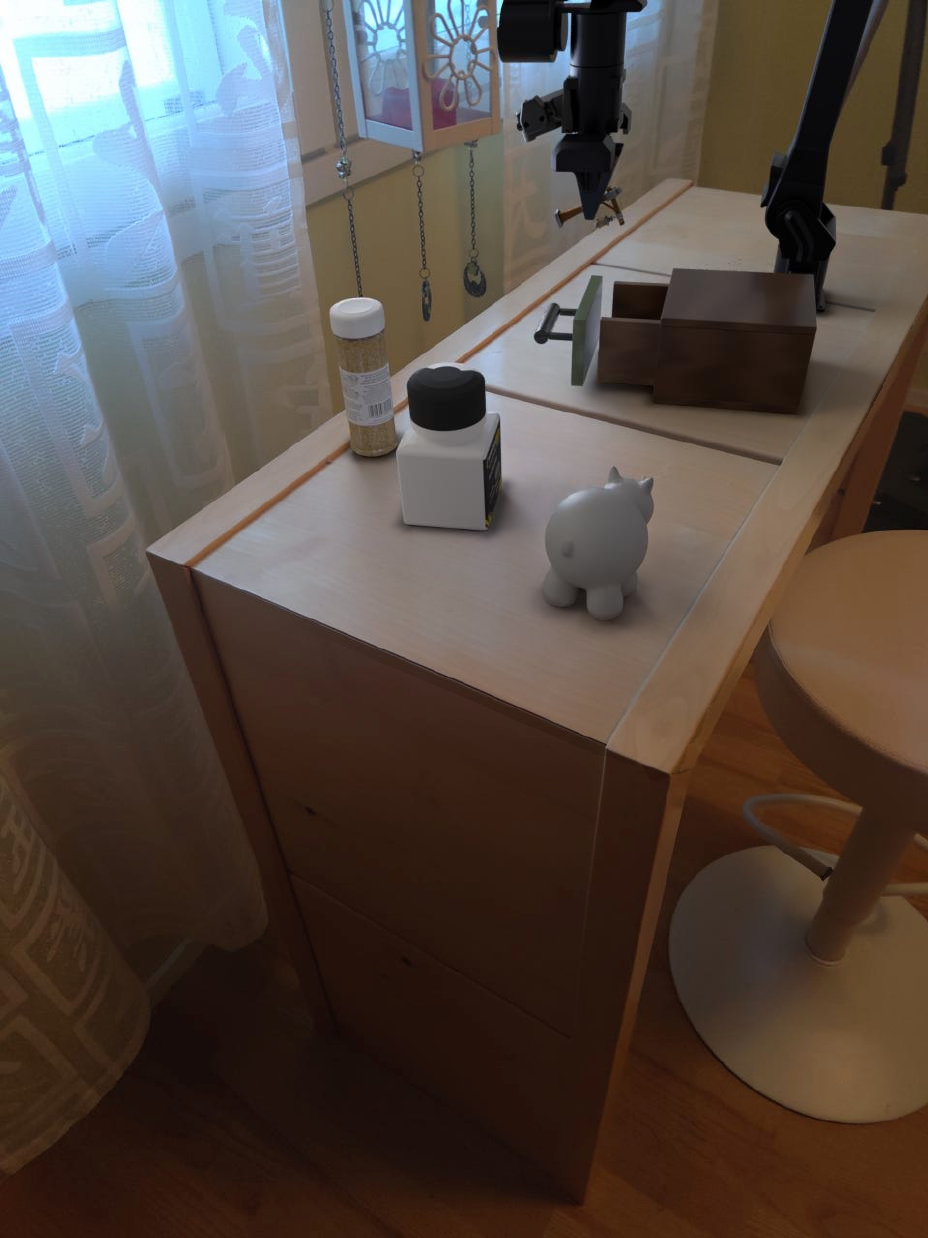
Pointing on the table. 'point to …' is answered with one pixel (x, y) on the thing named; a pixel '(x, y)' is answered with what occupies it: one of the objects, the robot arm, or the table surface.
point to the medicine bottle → (449, 450)
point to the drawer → (612, 331)
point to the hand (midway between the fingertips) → (590, 217)
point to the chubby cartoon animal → (598, 544)
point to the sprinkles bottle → (365, 374)
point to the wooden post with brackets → (608, 195)
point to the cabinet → (735, 340)
